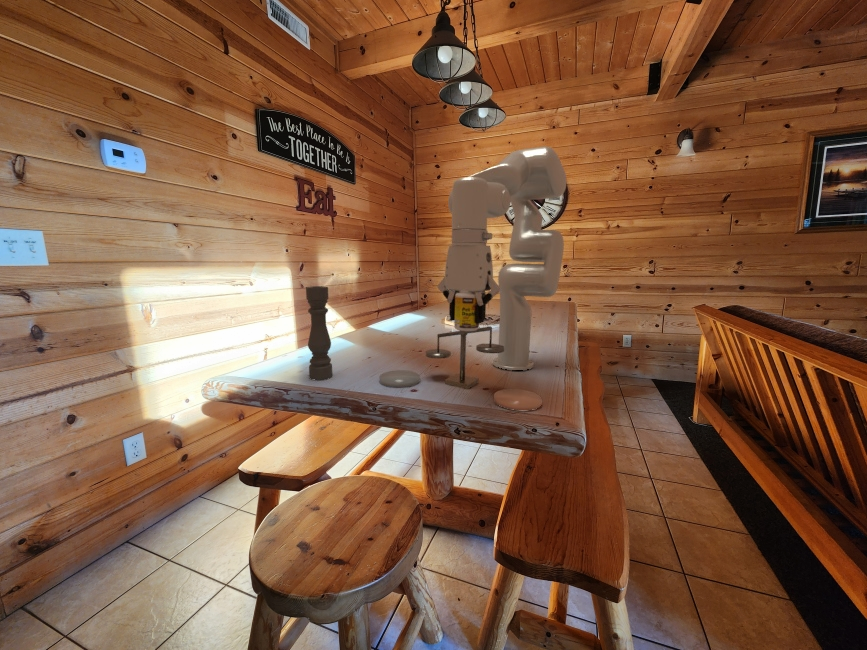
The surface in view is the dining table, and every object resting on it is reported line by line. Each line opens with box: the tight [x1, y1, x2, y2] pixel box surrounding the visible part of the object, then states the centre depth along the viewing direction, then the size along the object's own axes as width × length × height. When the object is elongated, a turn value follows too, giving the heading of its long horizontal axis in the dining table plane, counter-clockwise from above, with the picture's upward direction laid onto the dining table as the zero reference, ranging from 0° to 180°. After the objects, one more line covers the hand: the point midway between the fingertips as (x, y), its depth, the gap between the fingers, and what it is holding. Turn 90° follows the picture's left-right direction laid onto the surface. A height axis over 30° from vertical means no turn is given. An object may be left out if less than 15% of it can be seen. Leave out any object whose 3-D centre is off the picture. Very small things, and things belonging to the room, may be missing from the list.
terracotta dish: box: [493, 388, 543, 410], centre depth 86 cm, size 11×11×1 cm
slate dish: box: [378, 370, 421, 389], centre depth 100 cm, size 11×11×1 cm
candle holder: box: [305, 285, 333, 381], centre depth 100 cm, size 6×6×25 cm
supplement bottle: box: [453, 289, 480, 331], centre depth 82 cm, size 6×6×10 cm
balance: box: [425, 325, 504, 390], centre depth 97 cm, size 7×22×16 cm, turn 57°
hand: (466, 320), depth 83 cm, fingers closed on supplement bottle, 5 cm apart
